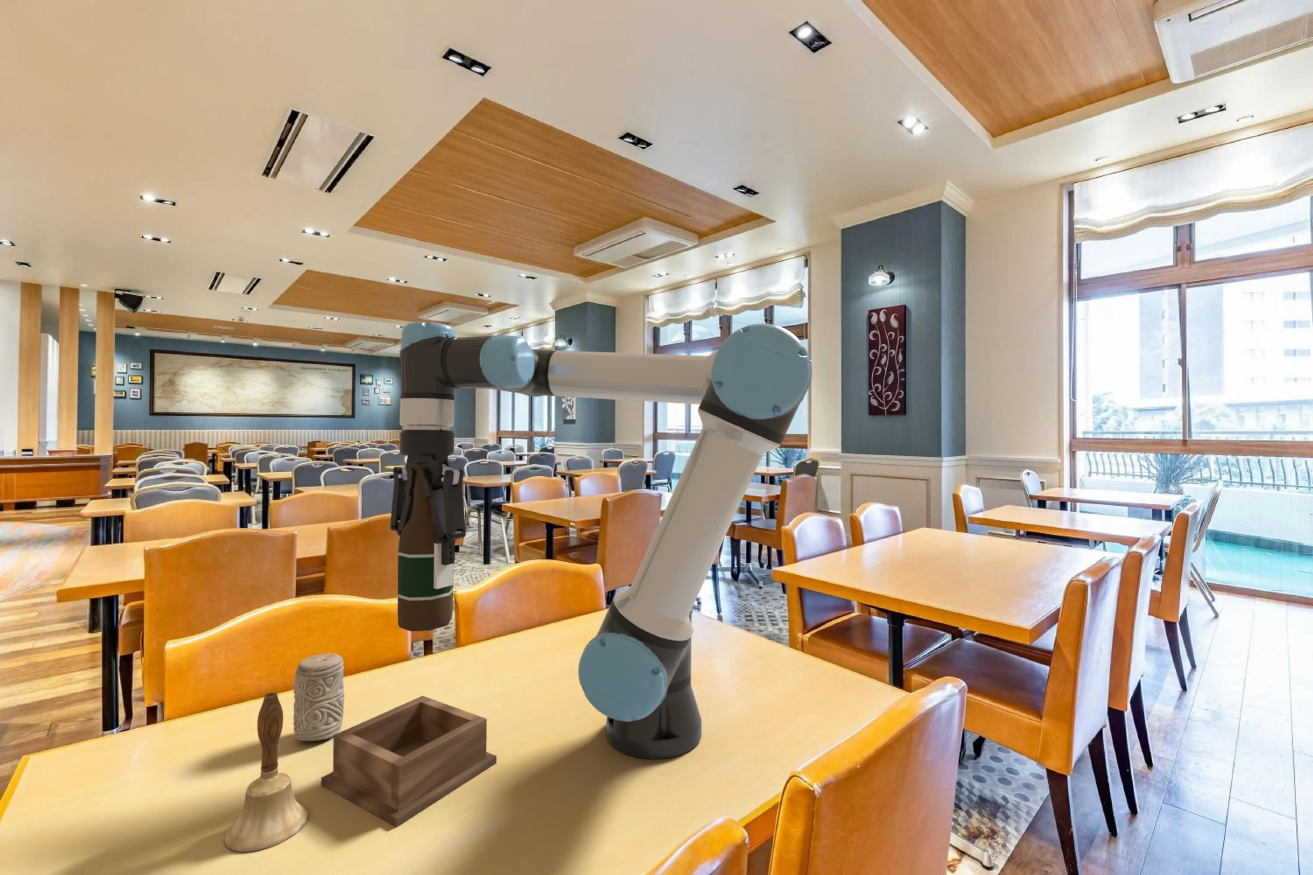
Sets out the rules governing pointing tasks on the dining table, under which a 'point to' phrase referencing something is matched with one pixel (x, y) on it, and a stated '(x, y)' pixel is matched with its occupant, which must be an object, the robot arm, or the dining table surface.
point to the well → (408, 758)
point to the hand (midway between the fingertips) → (426, 582)
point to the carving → (318, 697)
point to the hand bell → (267, 792)
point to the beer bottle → (420, 570)
